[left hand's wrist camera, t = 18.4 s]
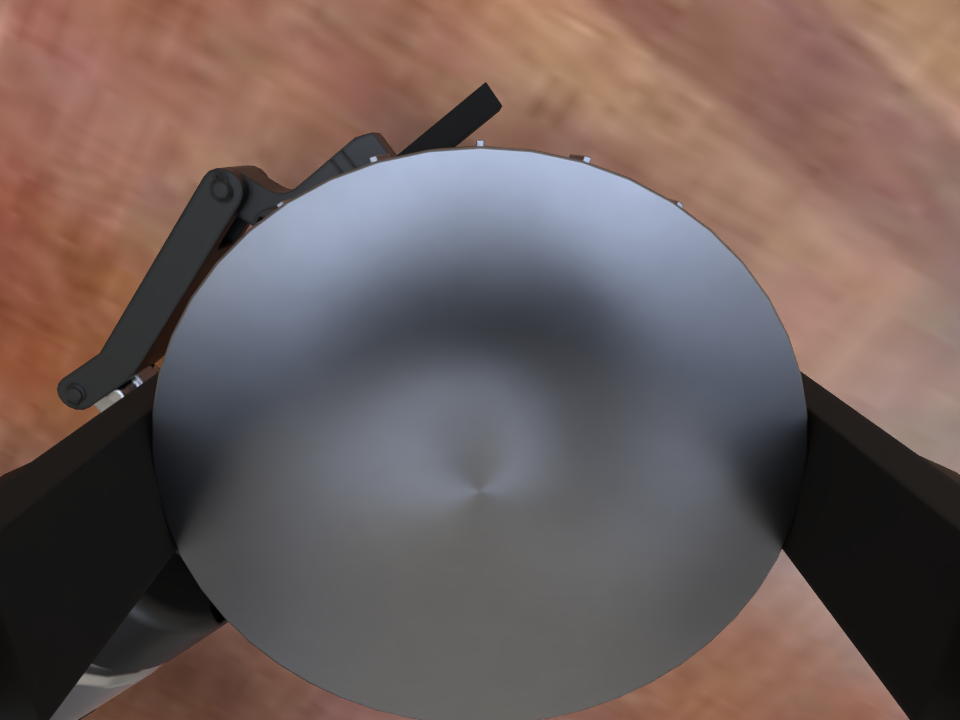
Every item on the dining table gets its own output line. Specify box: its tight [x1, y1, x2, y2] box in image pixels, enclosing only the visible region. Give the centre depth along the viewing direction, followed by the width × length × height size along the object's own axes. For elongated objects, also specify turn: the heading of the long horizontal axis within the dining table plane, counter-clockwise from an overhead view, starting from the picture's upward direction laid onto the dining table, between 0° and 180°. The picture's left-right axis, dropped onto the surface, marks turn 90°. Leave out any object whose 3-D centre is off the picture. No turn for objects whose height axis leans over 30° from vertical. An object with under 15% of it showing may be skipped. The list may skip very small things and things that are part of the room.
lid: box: [152, 140, 808, 720], centre depth 11 cm, size 11×11×2 cm
